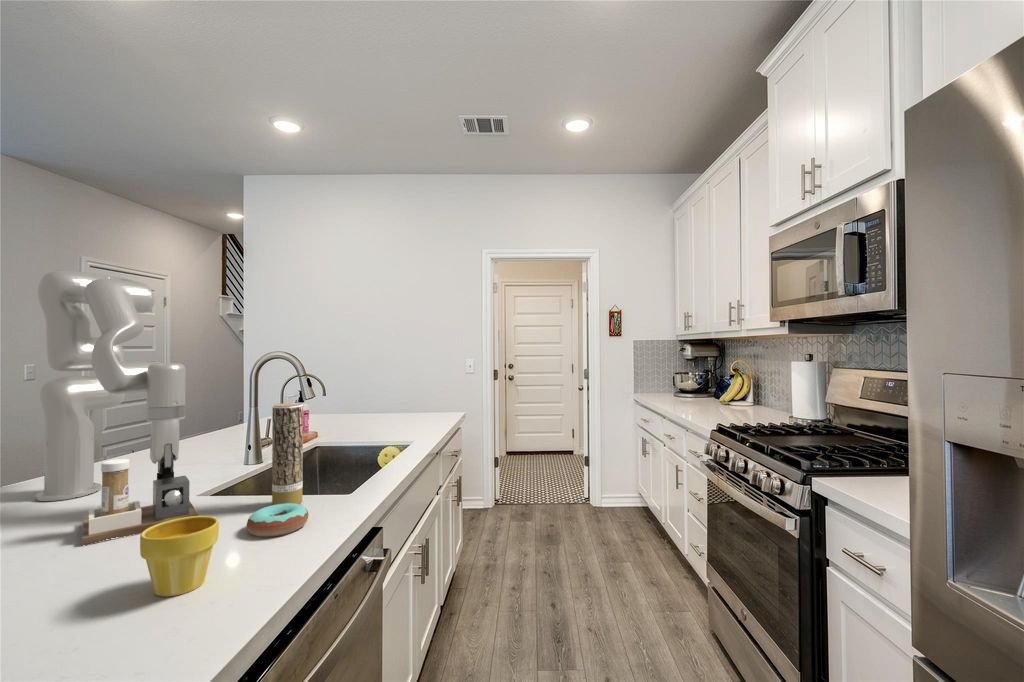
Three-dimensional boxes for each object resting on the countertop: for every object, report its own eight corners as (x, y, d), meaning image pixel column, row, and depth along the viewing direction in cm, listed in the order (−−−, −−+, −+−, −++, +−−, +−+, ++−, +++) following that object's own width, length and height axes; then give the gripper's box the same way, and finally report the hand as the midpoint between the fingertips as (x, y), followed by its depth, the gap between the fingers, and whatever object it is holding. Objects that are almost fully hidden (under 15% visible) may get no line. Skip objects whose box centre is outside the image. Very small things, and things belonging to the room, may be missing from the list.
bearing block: (152, 513, 102) (153, 480, 102) (185, 507, 106) (185, 475, 106) (155, 521, 98) (155, 486, 98) (189, 513, 102) (189, 480, 102)
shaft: (154, 501, 105) (154, 479, 105) (180, 496, 108) (180, 475, 108) (159, 513, 97) (159, 490, 97) (187, 507, 100) (188, 485, 100)
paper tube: (308, 501, 114) (308, 403, 114) (287, 511, 108) (287, 406, 108) (287, 499, 116) (288, 402, 117) (265, 507, 110) (266, 405, 110)
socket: (88, 523, 96) (89, 509, 97) (138, 513, 102) (138, 500, 102) (88, 535, 90) (88, 520, 91) (141, 524, 96) (141, 510, 96)
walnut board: (83, 524, 100) (83, 517, 100) (187, 504, 113) (187, 498, 113) (82, 546, 89) (82, 538, 89) (198, 520, 102) (198, 514, 102)
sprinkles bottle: (127, 524, 96) (127, 461, 96) (98, 529, 93) (99, 464, 94) (130, 517, 100) (130, 457, 100) (102, 522, 97) (103, 460, 97)
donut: (319, 526, 99) (319, 508, 99) (261, 545, 89) (261, 525, 89) (292, 514, 106) (292, 497, 106) (236, 530, 97) (237, 512, 97)
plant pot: (188, 566, 80) (189, 511, 80) (232, 575, 77) (233, 518, 77) (123, 597, 70) (123, 534, 70) (170, 609, 67) (171, 543, 67)
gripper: (144, 411, 113) (143, 485, 112) (149, 418, 102) (148, 500, 101) (181, 409, 118) (180, 479, 118) (189, 415, 107) (188, 492, 107)
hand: (165, 488), depth 109 cm, fingers closed
